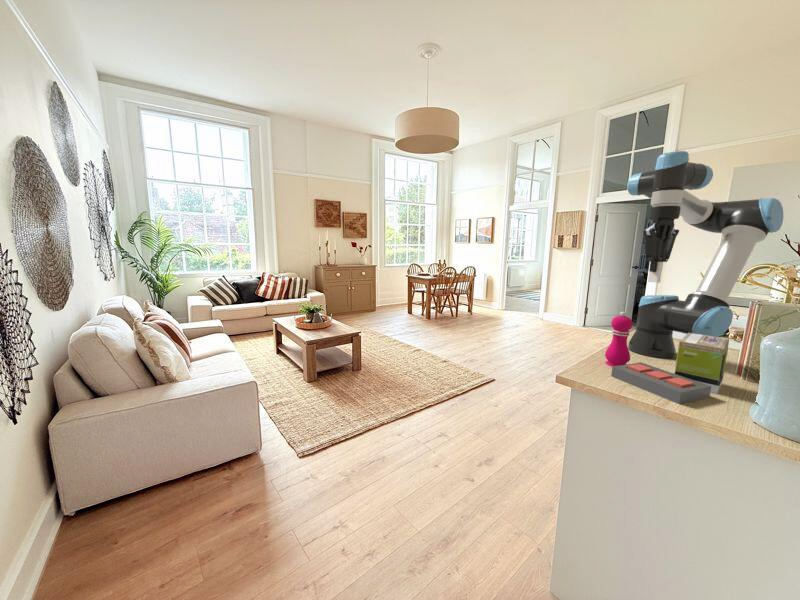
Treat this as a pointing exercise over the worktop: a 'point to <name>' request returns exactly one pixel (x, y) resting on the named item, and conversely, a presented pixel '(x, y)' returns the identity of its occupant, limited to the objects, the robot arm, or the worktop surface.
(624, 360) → the pepper mill
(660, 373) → the button
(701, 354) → the tea box
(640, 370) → the button
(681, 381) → the button
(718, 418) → the worktop surface
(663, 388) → the power strip
